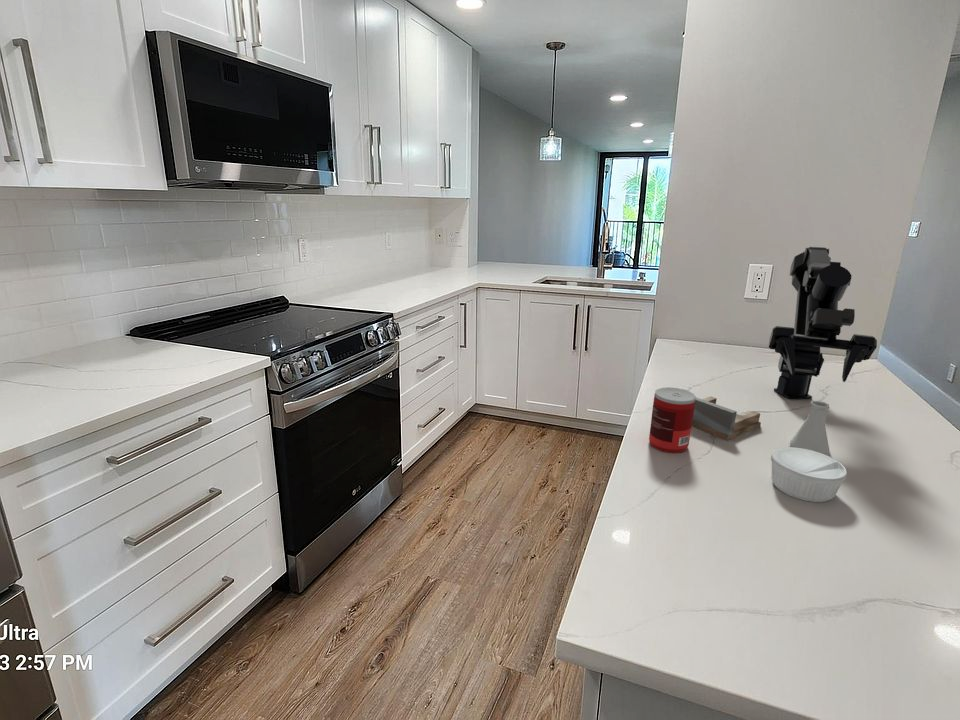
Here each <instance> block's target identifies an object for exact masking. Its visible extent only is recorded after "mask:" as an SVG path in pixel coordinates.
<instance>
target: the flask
mask: <svg viewBox="0 0 960 720" xmlns="http://www.w3.org/2000/svg"><path fill="white" fill-rule="evenodd" d="M829 408H830V404H829V403H827V402H824V401H820V400H811V401H810V410H809V413H808V415H807V418H806V419H805V421H804V422H803V424H802V425H801V426H800V428H799V429H798V431H796V433H795V435H794V436H793V437H792V438H791V439H790V443H789V444H790V446H789V447H793V448H802V449H807V450H812V451H815V452H819V453H822V454H824V455H827V456H829V457H831V455H830V454H831V452H830V446H829V439H828V435H827V428H826V416H827V415H826V414H827V410H829Z"/></svg>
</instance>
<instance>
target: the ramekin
mask: <svg viewBox="0 0 960 720" xmlns="http://www.w3.org/2000/svg"><path fill="white" fill-rule="evenodd" d="M770 461H771V480H772V483H773V484H774V485H775V486H774V487H776V488H777V489H778V490H779V491H780V492H782V493H784V494H785V495H788V496H790V497H792V498H795V499H798V500H801V501H805V502H812V503H825V502H828V501H830V500H833V499H834V498H835V497H836V495H837V494H838V491H839V490H840V488H841V485H842V483H843V482H844V481H845V480H846V479H847V475H848V472H847V471H848V470H847V469H846V467H845V465H843V464H842V463H841V462H840V461H839V460H836V459H835V458H833V457H831V456H827V455H824V454H822V453H819V452H815V451H812V450H807V449H802V448H793V447H790V446H789V447H787V446H785V447H779V448H776V449H774V450H773V451H772V452H771V455H770Z"/></svg>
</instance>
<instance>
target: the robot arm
mask: <svg viewBox="0 0 960 720" xmlns="http://www.w3.org/2000/svg"><path fill="white" fill-rule="evenodd" d="M829 255H830V249H829V248H827V247H820V246H809V247H805V249H804V251H803V252H801V253H798V254H797V255H795V256H794V257H793V259H792V261H791V265H790V270H789V276H791V285H792V286H793V288H794V289H795V291H796V293H797V295H796V304H795V315H794V316H795V317H794V327H790V326H780V325H776V326H774V327H773V328H772V330H771V333H770V336H769V340H768V349H770V350H774V352H775V353H777V354H780V357H779V359H778V366H777V369H778V371H779V373H780V375H779V377H778V381H777V387H776V388H775V387H774V388H773V391H774V392H776V393H778V394H780V395H782V396H783V397H785V398H787V399H789V400H794V399H797V400H799V399H813V396H812V395H810V394H809V392H810V387H811V382H812V377H818V376H820V373H821V369H822V367H823V364H824V363H825V359H824V357H823V353H822V352H821V348H825V349H832V350H833V349H834V350H843V351H845V358H844V359H843V367H842V368H843V369H842V373H841V374H842V376H841V378H842V382H843V383H846V381H847V379H848V376H849V375H850V373H851V370H852V369H853V367H854V365H855V363H859V364H860V363H861V362H863V361H867V360H870V359H871V357H872V355H873V353H874V352H875V351H876V349H877V347H878V340H877V338H876V337H875V336H873V335H865V334H857V333H855V334H853V335H852V337H851V338H850V340H848V339H847V340H846V339H839V338H837V336H840V334H841V332H842V331H841V330H842V329H841V328H842V327H843V326H847V327H850V326H852V325H853V324H854V322H855V316H856V315H855V314H856V313H855V312H856V311H855V308H844V309H842V310H841V309H839V301H841V300H842V298H843V296H844V295H845V293H846V291H847V289H848V287H849V286H850V285H851V281H852V273H851V272H850V270H848V269H847V268H846V267H843V266H841V261H832V258H831V257H830V256H829Z"/></svg>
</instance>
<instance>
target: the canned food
mask: <svg viewBox="0 0 960 720" xmlns="http://www.w3.org/2000/svg"><path fill="white" fill-rule="evenodd" d="M695 401H696V395H695V394H694V393H693V392H691V391H690V390H687V389H683V388H679V387H660V388H656V390H655V392H654V397H653V404H652V412H651V419H650V428H649V434H648V435H649V437H648V440H649V444H650V445H651V447H652V448H655V450H658V451H661V452H664V453H669V454H677V453H683V452H685V451H686V450H687V449H688V447H689V446H690V439H691V433H692V421H693V414H694V408H695Z"/></svg>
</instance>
